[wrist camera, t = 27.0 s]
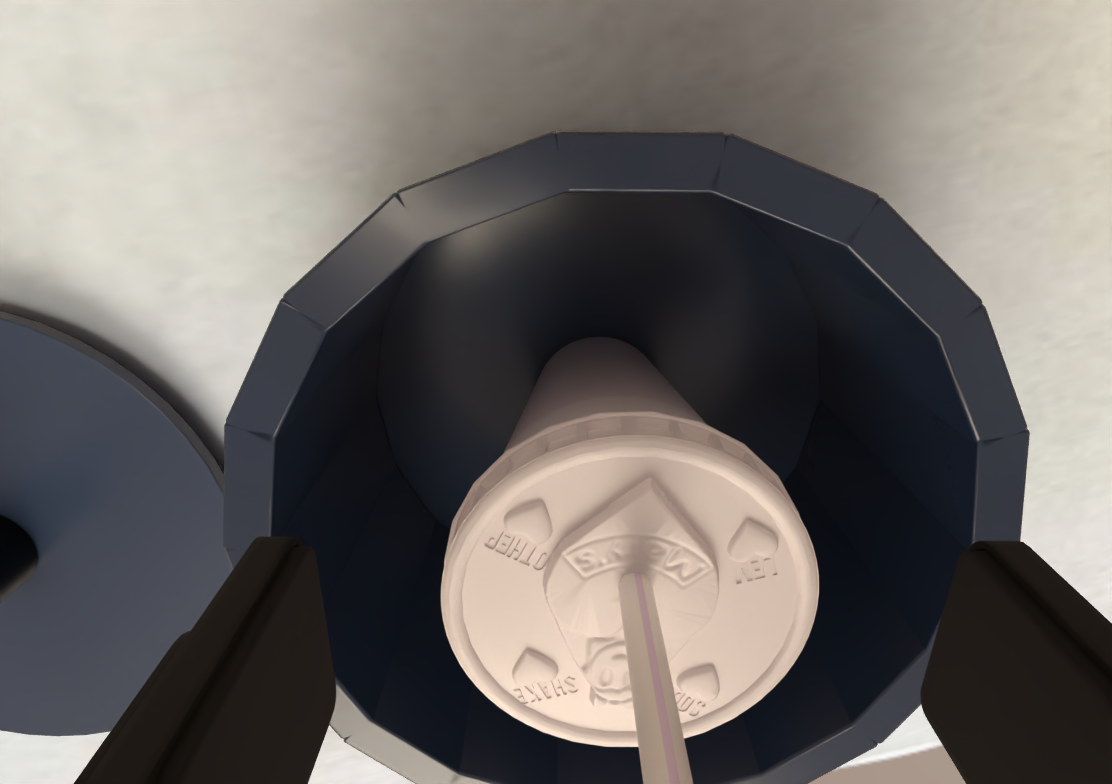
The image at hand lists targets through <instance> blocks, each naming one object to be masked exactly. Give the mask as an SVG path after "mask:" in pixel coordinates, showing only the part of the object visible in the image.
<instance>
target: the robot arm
mask: <svg viewBox="0 0 1112 784" xmlns="http://www.w3.org/2000/svg"><path fill="white" fill-rule="evenodd" d="M920 697H921V704H922V708H923V711H924V714H925V716H926V718H927V720H928V721H929V723H930V725H931V726H932V728H933V729H934V731H935V733H936V734H937V736H938V738H939V739H940V741H941V743H942V744H943V746H944V748H945V749H946V751H947V753H948V754H949V756H950V757H951V759H952V761H953V762H954V764H955V766H956V767H957V769H958V771H959V772H960V774H961V776H962V777H963V779H964V781H965V782H966V784H1112V623H1110V622H1109V621H1108V620H1107V619H1106V618H1105V617H1104V616H1103V615H1102V614H1101V613H1100V612H1099V611H1098V610H1097V609H1095V608H1094V607H1093V606H1092V605H1091V604H1090V603H1089V602H1088V601H1087V600H1086V599H1085V598H1084V597H1083V596H1082V595H1080V594H1079V593H1078V592H1077V591H1076V590H1075V589H1074V588H1073V587H1072V586H1071V585H1070V584H1069V583H1068V582H1067V581H1065V580H1064V579H1063V578H1062V577H1061V576H1060V575H1059V574H1058V573H1057V572H1056V571H1055V570H1054V569H1053V568H1052V567H1050V566H1049V565H1048V564H1047V563H1046V562H1045V561H1044V560H1043V559H1042V558H1041V557H1040V556H1039V555H1038V554H1037V553H1035V552H1034V551H1033V550H1032V549H1031V548H1030V547H1029V546H1028V545H1026V544H1025V543H1023V542H1020V541H977V542H974V543H973V544H972V545H971V546H970V548H969V551H964V552H962V553H961V554H960V556H959V558H958V560H957V564H956V567H955V571H954V574H953V578H952V581H951V585H950V588H949V592H948V595H947V599H946V602H945V606H944V609H943V613H942V616H941V620H940V623H939V627H938V630H937V634H936V637H935V641H934V644H933V648H932V651H931V655H930V658H929V662H928V665H927V669H926V672H925V676H924V679H923V683H922V686H921V692H920ZM335 703H336V681H335V675H334V668H333V662H332V656H331V649H330V643H329V636H328V630H327V623H326V617H325V611H324V604H323V598H322V591H321V585H320V578H319V572H318V565H317V559H316V554H315V551H314V549H313V548H312V547H304V546H303V542H302V541H301V539H300V538H299V537H257V538H256V539H255V540H254V541H253V542H252V543H251V544H250V546H249V547H248V549H247V550H246V552H245V553H244V555H243V556H242V557H241V559H240V560H239V562H238V563H237V565H236V566H235V568H234V569H233V570H232V572H231V573H230V575H229V576H228V578H227V579H226V581H225V582H224V583H223V585H222V586H221V588H220V589H219V591H218V592H217V594H216V595H215V596H214V598H213V599H212V601H211V602H210V604H209V605H208V607H207V608H206V609H205V611H204V612H203V614H202V615H201V617H200V618H199V620H198V621H197V622H196V624H195V625H194V627H193V628H192V630H191V631H188V632H186V633H184V634H182V635H180V637H179V638H178V639H177V640H176V641H175V642H174V643H173V644H172V646H171V647H170V649H169V650H168V651H167V653H166V654H165V656H164V657H163V658H162V660H161V661H160V663H159V664H158V666H157V667H156V668H155V670H154V671H153V673H152V674H151V675H150V677H149V678H148V680H147V681H146V682H145V684H144V685H143V687H142V688H141V689H140V691H139V692H138V694H137V695H136V697H135V698H134V699H133V701H132V702H131V704H130V705H129V706H128V708H127V709H126V711H125V712H124V713H123V715H122V716H121V718H120V719H119V721H118V722H117V723H116V725H115V726H114V728H113V729H112V730H111V732H110V733H109V735H108V736H107V737H106V739H105V740H104V742H103V743H102V745H101V746H100V747H99V749H98V750H97V752H96V753H95V754H94V756H93V757H92V759H91V760H90V761H89V763H88V764H87V766H86V767H85V769H84V770H83V771H82V773H81V774H80V776H79V777H78V778H77V780H76V781H75V783H74V784H308V781H309V778H310V776H311V773H312V770H313V768H314V765H315V762H316V759H317V757H318V754H319V751H320V748H321V746H322V743H323V740H324V737H325V735H326V732H327V729H328V726H329V724H330V721H331V718H332V715H333V712H334V708H335Z"/></svg>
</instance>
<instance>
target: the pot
mask: <svg viewBox="0 0 1112 784" xmlns="http://www.w3.org/2000/svg"><path fill="white" fill-rule="evenodd" d="M590 337H609V338H614V339H618V340H621V341H624V342H626V343H628V344H630V345H632V346H633V347H635V348H636V349H638V350H639V351H640V352H641V353H642V354H644V355H645V357H646V358H647V359H648V360H649V361H650V362H651V363H652V364H653V365H654V366H655V368H656V369H657V370H658V371H659V372H660V373H661V374H662V375H663V376H664V378H665V379H666V380H667V381H668V382H669V383H670V384H671V385H672V386H673V387H674V389H675V390H676V391H677V392H678V393H679V394H680V395H681V396H682V397H683V399H684V400H685V401H686V402H687V403H688V404H689V405H690V406H691V407H692V408H693V410H694V411H695V412H696V413H697V414H698V415H699V416H700V417H701V418H702V419H703V421H704V422H705V423H706V424H707V425H708V426H710V427H712V428H714V429H716V430H718V431H720V432H722V433H724V434H726V435H728V436H730V437H732V438H734V439H736V440H738V441H739V442H741V443H743V444H745V445H746V446H747V447H748V448H749V449H750V450H751V451H752V452H753V453H754V454H755V455H756V456H758V457H759V458H760V459H761V460H762V461H763V462H764V463H765V464H766V465H767V466H768V467H769V468H770V469H771V470H772V471H773V472H775V473H776V474H777V475H778V477H779V479H780V480H781V482H782V484H783V486H784V487H785V489H786V491H787V493H788V495H789V496H790V498H791V500H792V502H793V503H794V505H795V507H796V509H797V510H798V512H799V516H800V518H801V520H802V522H803V524H804V526H805V528H806V530H807V532H808V534H809V537H810V539H811V542H812V544H813V548H814V552H815V556H816V559H817V566H818V573H819V597H818V606H817V611H816V615H815V619H814V623H813V626H812V629H811V632H810V634H809V637H808V639H807V641H806V643H805V645H804V648H803V650H802V651H801V653H800V655H799V656H798V658H797V660H796V661H795V663H794V664H793V666H792V667H791V668H790V670H789V671H788V672H787V674H786V675H785V676H784V677H783V678H782V679H781V681H780V682H779V683H778V684H777V685H776V686H775V687H774V688H773V689H772V690H771V691H770V692H769V693H768V694H766V695H765V696H764V697H763V698H762V699H761V700H760V701H758V702H757V703H756V704H754V705H753V706H752V707H750V708H749V709H747V710H746V711H744V712H743V713H741V714H740V715H738V716H737V717H735V718H734V719H732V720H730V721H727V722H725V723H723V724H721V725H719V726H717V727H715V728H713V729H711V730H709V731H706V732H704V733H701V734H698V735H694V736H691V737H688V738H684V741H685V746H686V751H687V756H688V760H689V765H690V770H691V775H692V780H693V784H808V783H810V782H811V781H813V780H815V779H817V778H819V777H821V776H823V775H824V774H826V773H828V772H830V771H832V770H834V769H836V768H837V767H839V766H841V765H843V764H845V763H847V762H848V761H850V760H852V759H854V758H856V757H858V756H860V755H861V754H863V753H865V752H867V751H869V750H871V749H873V748H874V747H876V746H877V745H878V744H877V743H882V742H883V741H884V740H885V739H886V738H887V737H888V736H889V735H890V734H891V733H892V732H893V731H894V730H895V729H896V728H898V727H899V726H900V725H901V724H902V723H903V722H904V721H905V720H906V719H907V718H908V717H909V716H910V715H911V714H912V713H913V712H914V711H915V710H916V709H917V708H918V707H919V706H920V705H921V697H920V692H921V686H922V683H923V679H924V676H925V672H926V669H927V665H928V662H929V658H930V655H931V651H932V648H933V644H934V641H935V637H936V634H937V630H938V627H939V623H940V620H941V616H942V613H943V609H944V606H945V602H946V599H947V595H948V592H949V588H950V585H951V581H952V578H953V574H954V571H955V567H956V564H957V560H958V558H959V556H960V554H961V553H962V552H964V551H969V548H970V546H971V545H972V544H973V543H974V542H977V541H1020V537H1021V526H1022V514H1023V503H1024V491H1025V480H1026V469H1027V457H1028V446H1029V434H1030V433H1029V430H1027V425H1026V422H1025V419H1024V416H1023V413H1022V410H1021V408H1020V405H1019V402H1018V399H1017V396H1016V393H1015V390H1014V388H1013V385H1012V382H1011V379H1010V376H1009V373H1008V370H1007V368H1006V365H1005V362H1004V359H1003V356H1002V353H1001V350H1000V348H999V345H998V342H997V339H996V336H995V333H994V330H993V328H992V325H991V322H990V319H989V316H988V313H987V311H986V308H985V306H984V305H983V304H982V301H981V299H980V298H979V296H978V295H977V294H976V293H975V292H974V291H973V290H972V289H971V288H970V287H969V286H968V285H967V284H966V283H965V282H964V281H963V280H962V279H961V278H960V277H959V276H958V275H957V274H956V273H955V272H954V271H953V270H952V269H951V268H950V267H949V266H948V264H947V263H946V262H945V261H944V260H943V259H942V258H941V257H940V256H939V255H938V254H937V253H936V252H935V251H934V250H933V249H932V248H931V247H930V246H929V245H928V244H927V243H926V242H925V241H924V240H923V239H922V238H921V237H920V236H919V235H918V234H917V232H916V231H915V230H914V229H913V228H912V227H911V226H910V225H909V224H908V223H907V222H906V221H905V220H904V219H903V218H902V217H901V216H900V215H899V214H898V213H897V212H896V211H895V210H894V209H893V208H892V207H891V206H890V205H889V204H888V203H887V202H886V200H885V199H884V198H881V197H879V195H878V194H877V193H874V192H872V191H870V190H867V189H865V188H862V187H860V186H857V185H855V184H853V183H850V182H848V181H845V180H843V179H841V178H838V177H836V176H833V175H831V174H828V173H826V172H824V171H821V170H819V169H816V168H814V167H811V166H809V165H807V164H804V163H802V162H799V161H797V160H794V159H792V158H790V157H787V156H785V155H782V154H780V153H777V152H775V151H773V150H770V149H768V148H765V147H763V146H760V145H758V144H756V143H753V142H751V141H748V140H746V139H743V138H741V137H739V136H736V135H734V134H725V133H723V132H684V131H589V130H559V131H557V132H556V131H553V132H550V133H547V134H544V135H542V136H539V137H537V138H534V139H531V140H529V141H526V142H523V143H521V144H518V145H516V146H513V147H510V148H508V149H505V150H502V151H500V152H497V153H495V154H492V155H489V156H487V157H484V158H481V159H479V160H476V161H474V162H471V163H468V164H466V165H463V166H460V167H458V168H455V169H453V170H450V171H447V172H445V173H442V174H439V175H437V176H434V177H432V178H429V179H426V180H424V181H421V182H418V183H416V184H413V185H410V186H408V187H405V188H403V189H400V190H398V191H397V192H396V193H394V194H392V195H391V196H390V197H389V198H388V199H387V200H386V201H385V202H383V203H382V204H381V205H380V206H379V207H378V208H377V209H376V210H375V211H374V212H373V213H372V214H370V215H369V216H368V217H367V218H366V219H365V220H364V221H363V222H362V223H361V224H360V225H359V226H357V227H356V228H355V229H354V230H353V231H352V232H351V233H350V234H349V235H348V236H347V237H346V238H344V239H343V240H342V241H341V242H340V243H339V244H338V245H337V246H336V247H335V248H334V249H333V250H331V251H330V252H329V253H328V254H327V255H326V256H325V257H324V258H323V259H322V260H321V261H320V262H318V263H317V264H316V265H315V266H314V267H313V268H312V269H311V270H310V271H309V272H308V273H307V274H305V275H304V276H303V277H302V278H301V279H300V280H299V281H298V282H297V283H296V284H295V285H294V286H292V287H291V288H290V289H289V290H288V291H287V292H286V293H285V294H284V296H283V298H282V299H281V300H280V301H279V304H278V306H277V308H276V310H275V312H274V315H273V317H272V319H271V321H270V324H269V326H268V328H267V330H266V332H265V335H264V337H263V339H262V341H261V344H260V346H259V348H258V350H257V352H256V355H255V357H254V359H253V361H252V364H251V366H250V368H249V370H248V372H247V375H246V377H245V379H244V381H243V384H242V386H241V388H240V390H239V392H238V395H237V397H236V399H235V401H234V403H233V406H232V408H231V410H230V412H229V415H228V417H227V419H226V424H225V426H224V516H223V547H224V548H226V554H227V556H228V559H229V561H230V564H231V566H232V569H234V568H235V566H236V565H237V563H238V562H239V560H240V559H241V557H242V556H243V555H244V553H245V552H246V550H247V549H248V547H249V546H250V544H251V543H252V542H253V541H254V540H255V539H256V538H257V537H299V538H300V539H301V541H302V542H303V546H304V547H312V548H313V549H314V551H315V554H316V559H317V565H318V572H319V578H320V585H321V591H322V598H323V604H324V611H325V617H326V623H327V630H328V636H329V643H330V649H331V656H332V662H333V668H334V675H335V681H336V703H335V708H334V712H333V715H332V718H331V721H330V724H329V725H330V726H331V727H332V728H333V729H334V731H335V732H336V733H337V734H338V735H339V736H340V737H341V738H342V739H344V742H345V743H347V744H349V745H351V746H352V747H354V748H356V749H357V750H359V751H361V752H362V753H364V754H366V755H368V756H369V757H371V758H373V759H374V760H376V761H378V762H380V763H381V764H383V765H385V766H386V767H388V768H390V769H391V770H393V771H395V772H397V773H398V774H400V775H402V776H403V777H405V778H407V779H409V780H410V781H412V782H414V783H415V784H643V777H642V770H641V762H640V754H639V747H604V746H598V745H591V744H585V743H578V742H573V741H569V740H566V739H563V738H559V737H556V736H553V735H550V734H547V733H544V732H541V731H539V730H537V729H535V728H533V727H531V726H529V725H527V724H525V723H523V722H521V721H519V720H518V719H516V718H514V717H512V716H511V715H509V714H508V713H507V712H505V711H504V710H502V709H501V708H499V707H498V706H497V705H496V704H494V703H493V702H492V701H491V700H490V699H488V698H487V697H486V696H485V695H484V694H483V693H482V692H481V691H480V690H479V689H478V688H477V687H476V685H475V684H474V683H473V682H472V681H471V679H470V678H469V677H468V676H467V674H466V673H465V671H464V670H463V668H462V667H461V665H460V664H459V662H458V660H457V658H456V656H455V654H454V652H453V650H452V648H451V645H450V643H449V640H448V638H447V635H446V631H445V627H444V623H443V618H442V610H441V583H442V575H443V570H444V559H445V554H446V549H447V544H448V540H449V535H450V530H451V525H452V521H453V519H454V517H455V516H456V514H457V512H458V510H459V508H460V507H461V505H462V503H463V501H464V499H465V498H466V496H467V494H468V492H469V490H470V489H471V487H472V485H473V483H474V482H475V481H476V480H477V479H478V478H479V477H480V476H481V475H482V474H483V473H484V472H485V471H486V470H487V469H488V468H489V467H490V466H491V465H492V464H493V463H494V462H495V461H496V460H497V459H498V458H499V457H501V456H502V455H503V453H504V451H505V449H506V447H507V445H508V442H509V440H510V438H511V436H512V434H513V432H514V430H515V427H516V425H517V423H518V421H519V419H520V417H521V415H522V412H523V410H524V408H525V406H526V404H527V402H528V400H529V397H530V395H531V393H532V391H533V389H534V387H535V385H536V382H537V380H538V378H539V376H540V374H541V372H542V370H543V368H544V366H545V365H546V363H547V362H548V361H549V359H550V358H551V357H552V356H553V355H554V354H555V353H556V352H558V351H559V350H560V349H562V348H563V347H565V346H566V345H568V344H570V343H572V342H575V341H577V340H580V339H584V338H590Z"/></svg>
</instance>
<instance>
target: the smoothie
mask: <svg viewBox="0 0 1112 784" xmlns="http://www.w3.org/2000/svg"><path fill="white" fill-rule="evenodd" d="M818 597H819V573H818V566H817V559H816V556H815V552H814V548H813V544H812V542H811V539H810V537H809V534H808V532H807V530H806V528H805V526H804V524H803V522H802V520H801V518H800V516H799V512H798V510H797V509H796V507H795V505H794V503H793V502H792V500H791V498H790V496H789V495H788V493H787V491H786V489H785V487H784V486H783V484H782V482H781V480H780V479H779V477H778V475H777V474H776V473H775V472H773V471H772V470H771V469H770V468H769V467H768V466H767V465H766V464H765V463H764V462H763V461H762V460H761V459H760V458H759V457H758V456H756V455H755V454H754V453H753V452H752V451H751V450H750V449H749V448H748V447H747V446H746V445H745V444H743V443H741V442H739V441H738V440H736V439H734V438H732V437H730V436H728V435H726V434H724V433H722V432H720V431H718V430H716V429H714V428H712V427H710V426H708V425H707V424H706V423H705V422H704V421H703V419H702V418H701V417H700V416H699V415H698V414H697V413H696V412H695V411H694V410H693V408H692V407H691V406H690V405H689V404H688V403H687V402H686V401H685V400H684V399H683V397H682V396H681V395H680V394H679V393H678V392H677V391H676V390H675V389H674V387H673V386H672V385H671V384H670V383H669V382H668V381H667V380H666V379H665V378H664V376H663V375H662V374H661V373H660V372H659V371H658V370H657V369H656V368H655V366H654V365H653V364H652V363H651V362H650V361H649V360H648V359H647V358H646V357H645V355H644V354H642V353H641V352H640V351H639V350H638V349H636V348H635V347H633V346H632V345H630V344H628V343H626V342H624V341H621V340H618V339H614V338H609V337H590V338H584V339H580V340H577V341H575V342H572V343H570V344H568V345H566V346H565V347H563V348H562V349H560V350H559V351H558V352H556V353H555V354H554V355H553V356H552V357H551V358H550V359H549V361H548V362H547V363H546V365H545V366H544V368H543V370H542V372H541V374H540V376H539V378H538V380H537V382H536V385H535V387H534V389H533V391H532V393H531V395H530V397H529V400H528V402H527V404H526V406H525V408H524V410H523V412H522V415H521V417H520V419H519V421H518V423H517V425H516V427H515V430H514V432H513V434H512V436H511V438H510V440H509V442H508V445H507V447H506V449H505V451H504V453H503V455H502V456H501V457H499V458H498V459H497V460H496V461H495V462H494V463H493V464H492V465H491V466H490V467H489V468H488V469H487V470H486V471H485V472H484V473H483V474H482V475H481V476H480V477H479V478H478V479H477V480H476V481H475V482H474V483H473V485H472V487H471V489H470V490H469V492H468V494H467V496H466V498H465V499H464V501H463V503H462V505H461V507H460V508H459V510H458V512H457V514H456V516H455V517H454V519H453V521H452V525H451V530H450V535H449V540H448V544H447V549H446V554H445V559H444V570H443V575H442V583H441V610H442V618H443V623H444V627H445V631H446V635H447V638H448V640H449V643H450V645H451V648H452V650H453V652H454V654H455V656H456V658H457V660H458V662H459V664H460V665H461V667H462V668H463V670H464V671H465V673H466V674H467V676H468V677H469V678H470V679H471V681H472V682H473V683H474V684H475V685H476V687H477V688H478V689H479V690H480V691H481V692H482V693H483V694H484V695H485V696H486V697H487V698H488V699H490V700H491V701H492V702H493V703H494V704H496V705H497V706H498V707H499V708H501V709H502V710H504V711H505V712H507V713H508V714H509V715H511V716H512V717H514V718H516V719H518V720H519V721H521V722H523V723H525V724H527V725H529V726H531V727H533V728H535V729H537V730H539V731H541V732H544V733H547V734H550V735H553V736H556V737H559V738H563V739H566V740H569V741H573V742H578V743H585V744H591V745H598V746H604V747H639V754H640V762H641V770H642V777H643V784H693V780H692V775H691V770H690V765H689V760H688V756H687V751H686V746H685V741H684V738H688V737H691V736H694V735H698V734H701V733H704V732H706V731H709V730H711V729H713V728H715V727H717V726H719V725H721V724H723V723H725V722H727V721H730V720H732V719H734V718H735V717H737V716H738V715H740V714H741V713H743V712H744V711H746V710H747V709H749V708H750V707H752V706H753V705H754V704H756V703H757V702H758V701H760V700H761V699H762V698H763V697H764V696H765V695H766V694H768V693H769V692H770V691H771V690H772V689H773V688H774V687H775V686H776V685H777V684H778V683H779V682H780V681H781V679H782V678H783V677H784V676H785V675H786V674H787V672H788V671H789V670H790V668H791V667H792V666H793V664H794V663H795V661H796V660H797V658H798V656H799V655H800V653H801V651H802V650H803V648H804V645H805V643H806V641H807V639H808V637H809V634H810V632H811V629H812V626H813V623H814V619H815V615H816V611H817V606H818Z"/></svg>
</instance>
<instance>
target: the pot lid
mask: <svg viewBox="0 0 1112 784" xmlns="http://www.w3.org/2000/svg"><path fill="white" fill-rule="evenodd" d="M223 516H224V474H223V473H222V471H221V469H220V467H219V466H218V464H217V462H216V460H215V459H214V457H213V456H212V454H211V453H210V452H209V450H208V449H207V448H206V446H205V445H204V444H203V442H202V441H201V440H200V438H199V437H198V436H197V434H196V433H195V431H194V430H193V429H192V428H191V427H190V426H189V425H188V424H187V423H186V422H185V420H184V419H183V418H182V417H181V416H180V415H179V414H178V413H177V412H176V411H175V410H174V409H173V408H172V406H171V405H170V404H169V403H167V402H166V401H165V400H164V399H163V398H162V397H161V396H159V395H158V394H157V393H156V392H155V391H154V390H153V389H151V388H150V387H149V386H148V385H147V384H146V383H144V382H143V381H142V380H141V379H140V378H138V377H137V376H135V375H134V374H132V373H131V372H130V371H128V370H127V369H125V368H124V367H123V366H121V365H120V364H118V363H117V362H115V361H114V360H113V359H111V358H110V357H108V356H106V355H104V354H103V353H101V352H99V351H97V350H95V349H94V348H92V347H90V346H88V345H87V344H85V343H83V342H81V341H79V340H78V339H76V338H74V337H71V336H69V335H67V334H64V333H62V332H60V331H57V330H55V329H53V328H50V327H48V326H46V325H43V324H41V323H39V322H36V321H32V320H29V319H26V318H23V317H19V316H16V315H13V314H10V313H7V312H3V311H0V730H1V731H8V732H15V733H21V734H28V735H46V736H73V735H89V734H95V733H102V732H109V731H111V730H112V729H113V728H114V726H115V725H116V723H117V722H118V721H119V719H120V718H121V716H122V715H123V713H124V712H125V711H126V709H127V708H128V706H129V705H130V704H131V702H132V701H133V699H134V698H135V697H136V695H137V694H138V692H139V691H140V689H141V688H142V687H143V685H144V684H145V682H146V681H147V680H148V678H149V677H150V675H151V674H152V673H153V671H154V670H155V668H156V667H157V666H158V664H159V663H160V661H161V660H162V658H163V657H164V656H165V654H166V653H167V651H168V650H169V649H170V647H171V646H172V644H173V643H174V642H175V641H176V640H177V639H178V638H179V637H180V635H182V634H184V633H186V632H188V631H191V630H192V628H193V627H194V625H195V624H196V622H197V621H198V620H199V618H200V617H201V615H202V614H203V612H204V611H205V609H206V608H207V607H208V605H209V604H210V602H211V601H212V599H213V598H214V596H215V595H216V594H217V592H218V591H219V589H220V588H221V586H222V585H223V583H224V582H225V581H226V579H227V578H228V576H229V575H230V573H231V572H232V570H233V569H232V566H231V564H230V561H229V559H228V556H227V554H226V548H224V547H223Z"/></svg>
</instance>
